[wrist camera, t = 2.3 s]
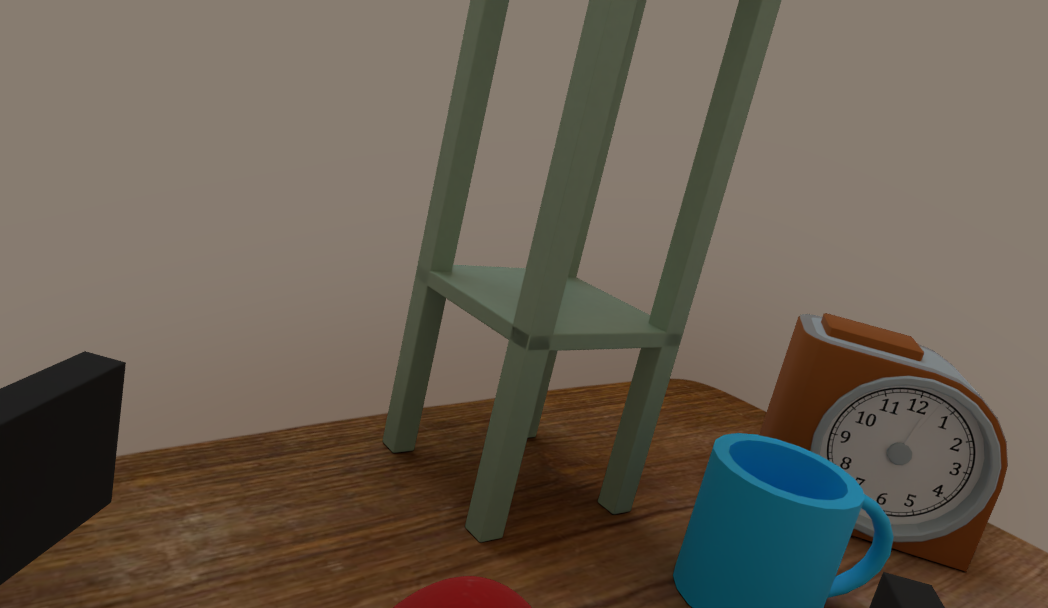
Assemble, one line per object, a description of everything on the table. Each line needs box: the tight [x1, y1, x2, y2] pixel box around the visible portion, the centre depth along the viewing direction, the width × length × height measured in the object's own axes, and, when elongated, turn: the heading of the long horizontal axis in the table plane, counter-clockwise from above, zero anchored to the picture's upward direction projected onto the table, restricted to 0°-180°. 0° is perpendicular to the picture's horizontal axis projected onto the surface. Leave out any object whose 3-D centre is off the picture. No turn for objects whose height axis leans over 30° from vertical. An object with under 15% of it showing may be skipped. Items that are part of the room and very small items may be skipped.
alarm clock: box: [759, 313, 1008, 572], centre depth 59 cm, size 15×8×14 cm, turn 76°
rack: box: [383, 0, 781, 542], centre depth 49 cm, size 12×12×36 cm
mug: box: [673, 433, 894, 608], centre depth 46 cm, size 12×8×8 cm
